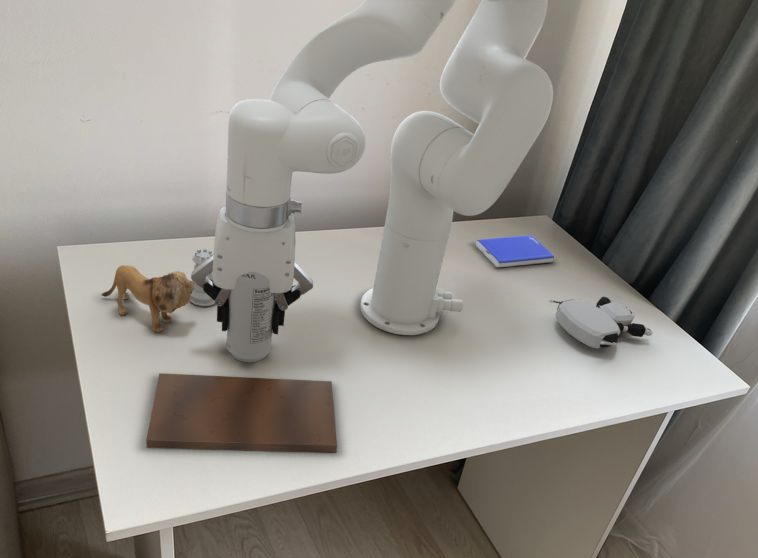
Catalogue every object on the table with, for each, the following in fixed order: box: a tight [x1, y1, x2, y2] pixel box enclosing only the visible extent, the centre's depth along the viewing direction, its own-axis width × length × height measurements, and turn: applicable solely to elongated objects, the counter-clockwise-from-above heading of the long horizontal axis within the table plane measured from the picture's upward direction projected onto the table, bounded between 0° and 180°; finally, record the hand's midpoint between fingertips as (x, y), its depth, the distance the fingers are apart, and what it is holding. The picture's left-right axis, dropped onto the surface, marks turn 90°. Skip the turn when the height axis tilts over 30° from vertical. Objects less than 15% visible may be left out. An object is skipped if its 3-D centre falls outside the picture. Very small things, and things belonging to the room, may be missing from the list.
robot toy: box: [548, 295, 653, 349], centre depth 120 cm, size 12×4×15 cm
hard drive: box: [475, 234, 555, 268], centre depth 138 cm, size 2×8×12 cm
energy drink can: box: [226, 272, 276, 363], centre depth 97 cm, size 6×6×15 cm
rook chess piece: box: [189, 248, 215, 307], centre depth 107 cm, size 4×4×8 cm
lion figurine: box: [100, 264, 195, 333], centre depth 101 cm, size 15×5×9 cm, turn 70°
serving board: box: [145, 372, 338, 453], centre depth 91 cm, size 22×12×1 cm, turn 98°
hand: (250, 325), depth 99 cm, fingers closed on energy drink can, 6 cm apart
